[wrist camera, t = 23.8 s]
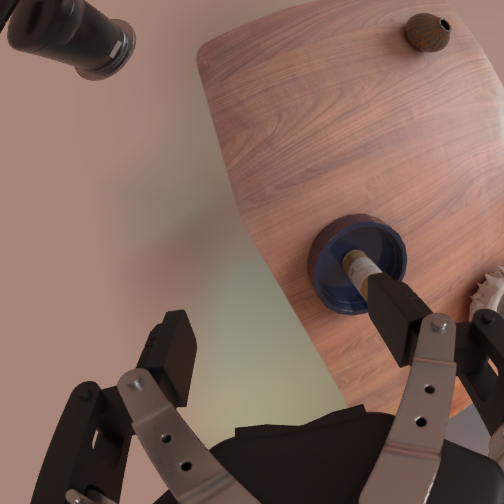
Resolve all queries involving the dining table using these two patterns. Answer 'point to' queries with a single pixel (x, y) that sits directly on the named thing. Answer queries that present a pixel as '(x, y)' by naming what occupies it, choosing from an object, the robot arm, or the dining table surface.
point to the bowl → (489, 294)
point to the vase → (428, 32)
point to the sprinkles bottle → (359, 270)
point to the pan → (338, 245)
